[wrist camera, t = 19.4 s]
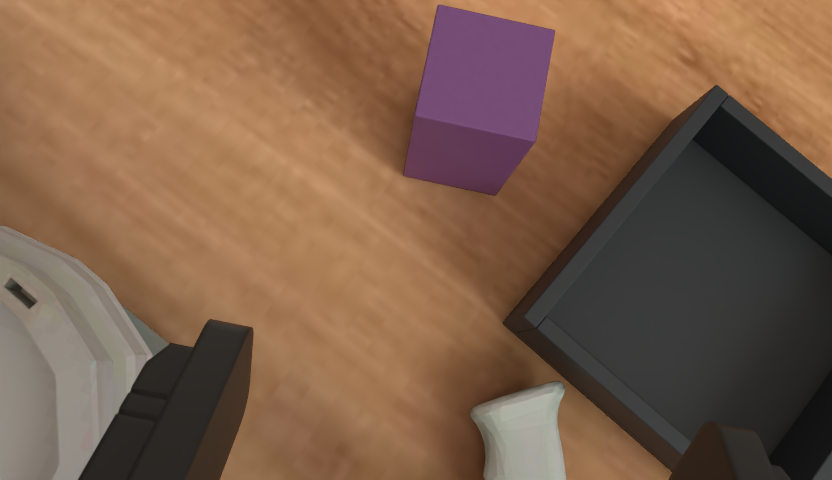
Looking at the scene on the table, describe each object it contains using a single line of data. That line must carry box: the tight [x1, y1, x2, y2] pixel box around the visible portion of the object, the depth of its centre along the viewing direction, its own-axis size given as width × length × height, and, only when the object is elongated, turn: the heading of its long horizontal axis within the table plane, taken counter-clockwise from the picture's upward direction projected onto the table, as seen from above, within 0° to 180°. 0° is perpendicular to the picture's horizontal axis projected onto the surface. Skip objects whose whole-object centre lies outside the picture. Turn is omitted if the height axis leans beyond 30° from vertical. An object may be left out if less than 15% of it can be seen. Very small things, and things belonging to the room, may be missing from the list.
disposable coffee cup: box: [0, 226, 169, 480], centre depth 23 cm, size 11×11×15 cm
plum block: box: [403, 5, 555, 195], centre depth 29 cm, size 4×4×8 cm
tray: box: [503, 85, 832, 480], centre depth 30 cm, size 13×13×4 cm
